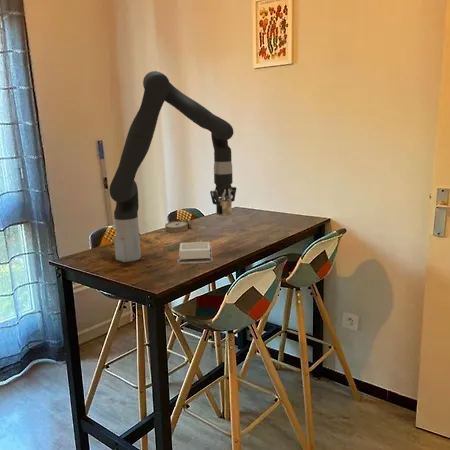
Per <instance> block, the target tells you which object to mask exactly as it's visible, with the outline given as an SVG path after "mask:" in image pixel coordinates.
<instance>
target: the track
mask: <svg viewBox="0 0 450 450" xmlns="http://www.w3.org/2000/svg"><path fill="white" fill-rule="evenodd" d="M209 245H210V249H211V252H210V255H211V256H212V258H197V259H178V258H177V261H176V264H177V265H181V264H184V265H185V264H186V265H187V264H202V263H203V264H205V263H213V261H214V260H213V249H212V243H209ZM178 250H180V248H179V249H178ZM178 256H179V254H178ZM178 256H177V257H178Z"/></svg>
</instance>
